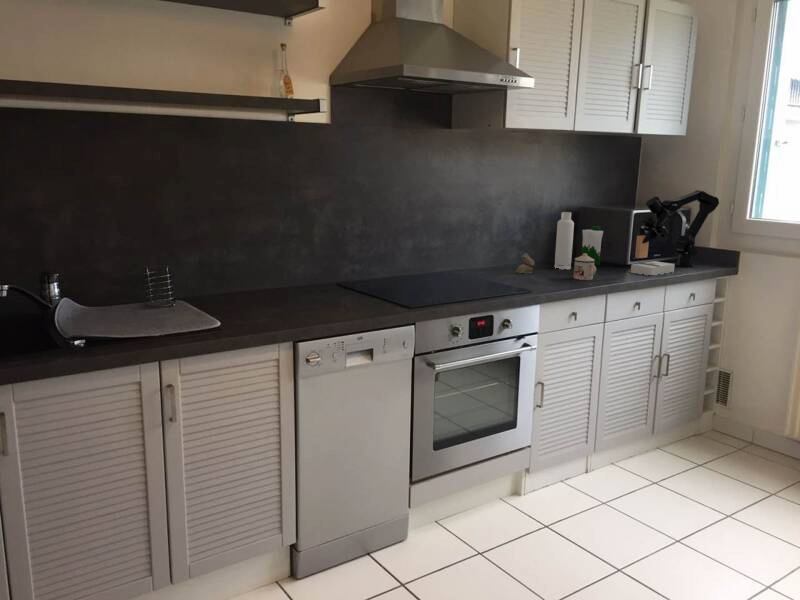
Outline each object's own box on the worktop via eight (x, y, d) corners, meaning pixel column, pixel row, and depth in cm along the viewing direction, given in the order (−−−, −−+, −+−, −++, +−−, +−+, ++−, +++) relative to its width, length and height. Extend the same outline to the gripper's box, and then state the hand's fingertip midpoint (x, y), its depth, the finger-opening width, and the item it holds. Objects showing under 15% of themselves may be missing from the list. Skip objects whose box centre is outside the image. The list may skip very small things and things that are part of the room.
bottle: (573, 269, 325) (577, 213, 319) (558, 269, 324) (562, 213, 318) (566, 266, 333) (570, 211, 327) (551, 267, 331) (555, 211, 325)
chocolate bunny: (530, 275, 307) (531, 254, 305) (514, 273, 312) (515, 252, 309) (534, 273, 312) (535, 252, 310) (519, 271, 316) (520, 251, 314)
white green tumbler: (602, 265, 338) (605, 227, 334) (587, 266, 335) (590, 227, 331) (592, 263, 346) (595, 225, 342) (577, 263, 344) (580, 225, 339)
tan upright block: (643, 256, 331) (645, 235, 329) (647, 257, 329) (649, 235, 326) (635, 257, 328) (637, 235, 326) (638, 258, 326) (640, 236, 324)
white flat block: (653, 268, 330) (654, 260, 329) (673, 272, 322) (674, 263, 321) (630, 272, 318) (631, 263, 317) (650, 276, 310) (651, 266, 309)
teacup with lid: (568, 277, 302) (570, 252, 300) (583, 276, 306) (585, 251, 304) (586, 282, 292) (588, 256, 289) (602, 280, 296) (604, 255, 293)
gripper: (636, 207, 333) (619, 229, 330) (666, 210, 317) (648, 233, 314) (646, 222, 338) (629, 244, 336) (676, 225, 322) (658, 249, 320)
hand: (640, 242), depth 326 cm, fingers closed on tan upright block, 2 cm apart
